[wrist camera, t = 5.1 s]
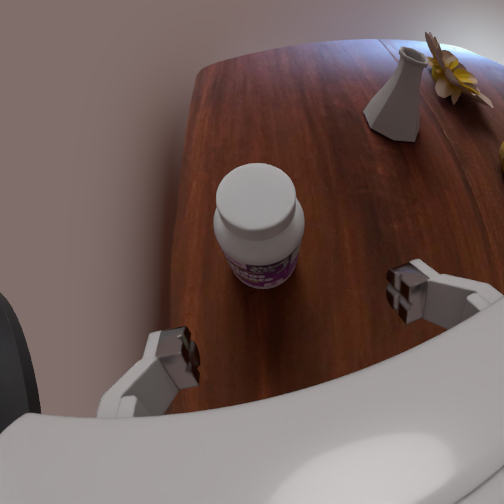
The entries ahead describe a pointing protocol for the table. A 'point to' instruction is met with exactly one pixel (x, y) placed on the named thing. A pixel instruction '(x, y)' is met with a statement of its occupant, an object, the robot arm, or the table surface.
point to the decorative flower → (451, 75)
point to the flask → (399, 99)
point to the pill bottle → (259, 224)
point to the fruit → (502, 156)
